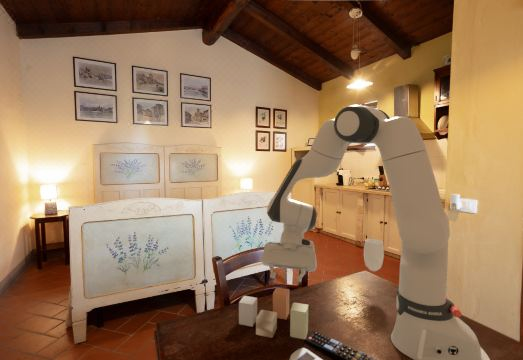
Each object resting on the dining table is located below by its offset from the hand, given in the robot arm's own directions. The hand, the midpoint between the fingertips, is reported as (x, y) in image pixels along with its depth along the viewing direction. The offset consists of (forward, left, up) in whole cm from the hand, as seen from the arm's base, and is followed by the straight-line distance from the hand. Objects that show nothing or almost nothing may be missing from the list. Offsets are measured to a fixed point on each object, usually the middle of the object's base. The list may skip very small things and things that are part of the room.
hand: (285, 279), depth 95 cm
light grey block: (+9, +13, -10) cm, 18 cm away
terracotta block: (0, +6, -10) cm, 11 cm away
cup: (-30, -19, -10) cm, 37 cm away
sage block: (-8, +14, -10) cm, 19 cm away
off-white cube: (+2, +16, -10) cm, 19 cm away
